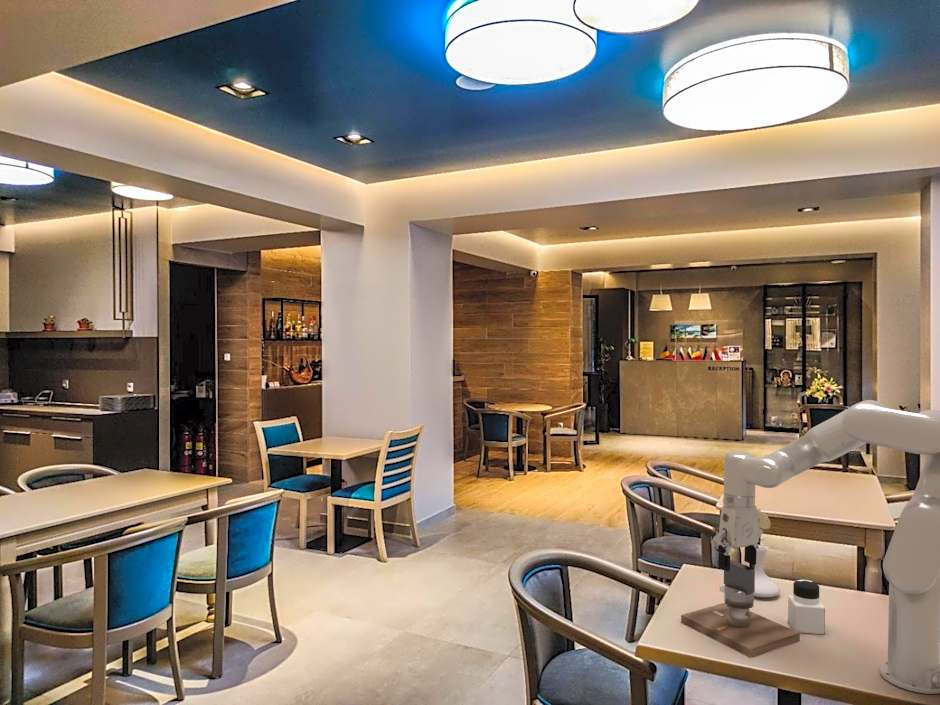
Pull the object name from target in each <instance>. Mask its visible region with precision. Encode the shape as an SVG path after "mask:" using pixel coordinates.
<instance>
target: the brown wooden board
mask: <svg viewBox="0 0 940 705" xmlns="http://www.w3.org/2000/svg"><path fill="white" fill-rule="evenodd" d="M680 622H681V623H682V624H683V623H684V625H685V624H686V626H687V627H690V628H691V629H694V630H695V631H698V632H700V633H701V634H703V635H706V636H708V637H709V638H712V639H713V640H715V641H717V642H719V643H721V644H723V645H725V646H727V647H728V648H731V649H733V650H735V651H736V652H739V653H741V654H743V655H744V656H747V657H749V658H750V659H751V658H754V657H756V656H760V655H763V654H765V653H768V652H769V653H770V652H771V651H774V650H777V649H780V648H783V647H785V646H788V645H792V644H794V643H797V642H800V641H801V633H799V632H797V631H795V630H794V629H793V628H790V627H788V626H785V625H784V624H781V623H778V622H776V621H774V620H771V619H769V618H767V617H765V616H762V615H760V614H758V613H756V612H753V611H751V610H750V608H749V609H739V608H734V607H731V606H728V605H727V604H725V602H723V603H722V602H721V603H719V604H715V605H712V606H711V605H710V606H708V607H705V608H704V607H703V608H701V609H697V610H694V611H691V612H687V613H684V614H680Z"/></svg>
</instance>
